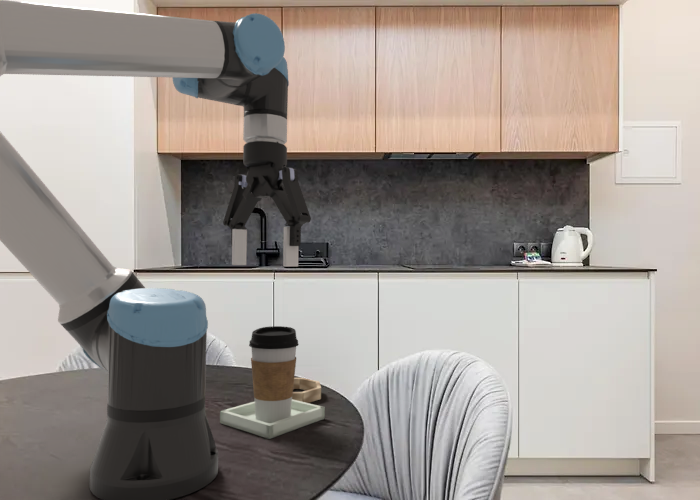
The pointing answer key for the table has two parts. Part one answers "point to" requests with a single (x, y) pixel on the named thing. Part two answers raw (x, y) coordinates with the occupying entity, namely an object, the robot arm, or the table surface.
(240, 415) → the tray
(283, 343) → the coffee cup
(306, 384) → the holder ring
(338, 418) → the table surface
